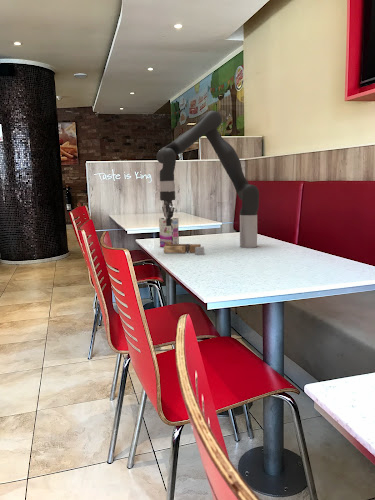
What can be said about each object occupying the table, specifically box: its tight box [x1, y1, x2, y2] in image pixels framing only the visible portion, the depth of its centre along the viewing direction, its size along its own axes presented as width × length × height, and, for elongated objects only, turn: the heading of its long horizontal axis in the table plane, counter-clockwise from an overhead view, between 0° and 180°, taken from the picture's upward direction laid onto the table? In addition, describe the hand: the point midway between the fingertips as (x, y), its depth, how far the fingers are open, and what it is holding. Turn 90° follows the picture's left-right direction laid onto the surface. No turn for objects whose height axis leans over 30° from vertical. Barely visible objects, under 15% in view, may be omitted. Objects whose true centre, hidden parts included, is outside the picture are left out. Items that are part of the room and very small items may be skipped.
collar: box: [194, 246, 205, 256], centre depth 211 cm, size 4×4×4 cm
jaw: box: [163, 246, 187, 254], centre depth 216 cm, size 11×3×3 cm, turn 82°
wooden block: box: [166, 243, 202, 254], centre depth 218 cm, size 7×18×4 cm, turn 82°
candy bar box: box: [158, 216, 180, 249], centre depth 234 cm, size 11×5×16 cm, turn 42°
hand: (168, 225), depth 211 cm, fingers closed
